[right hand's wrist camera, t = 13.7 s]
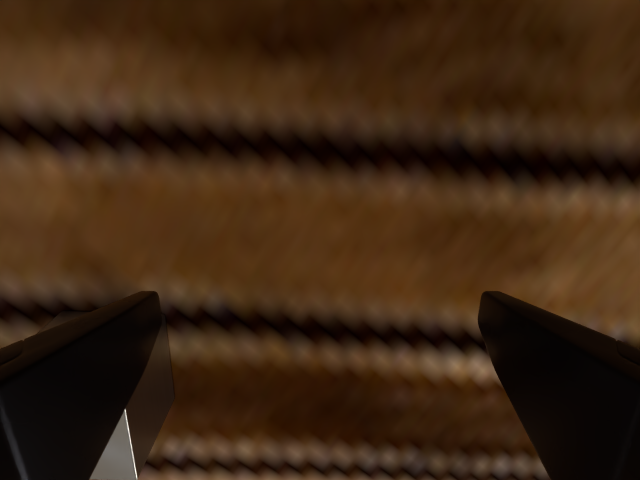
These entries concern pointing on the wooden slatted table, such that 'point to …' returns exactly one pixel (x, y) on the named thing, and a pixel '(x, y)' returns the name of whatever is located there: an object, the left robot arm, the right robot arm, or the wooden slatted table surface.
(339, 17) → the wooden slatted table surface
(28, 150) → the wooden slatted table surface
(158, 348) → the block
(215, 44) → the wooden slatted table surface
